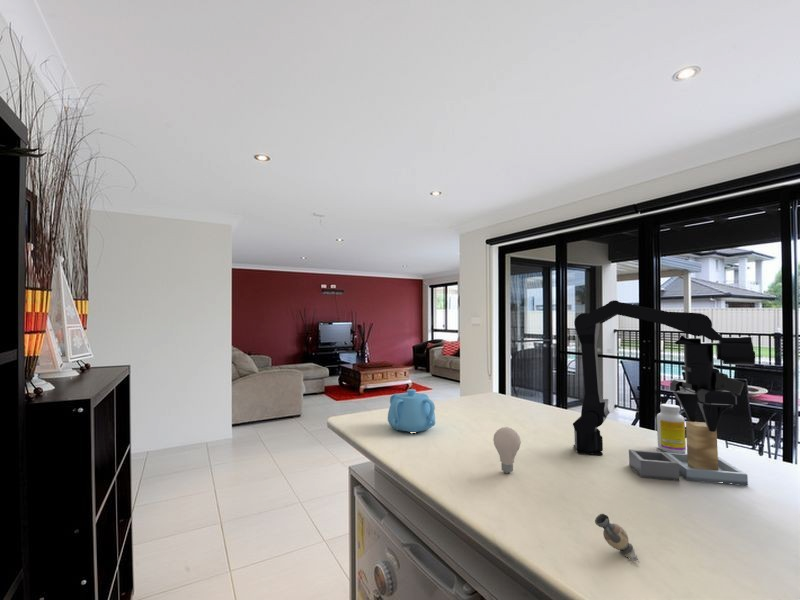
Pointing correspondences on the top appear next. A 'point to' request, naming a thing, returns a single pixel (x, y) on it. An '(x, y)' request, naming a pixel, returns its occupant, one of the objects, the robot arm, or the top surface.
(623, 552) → the vase
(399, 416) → the decorative pot
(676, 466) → the socket
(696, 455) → the peg
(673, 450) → the supplement bottle
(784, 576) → the top surface
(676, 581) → the top surface
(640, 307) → the robot arm
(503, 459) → the light bulb
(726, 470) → the tray
